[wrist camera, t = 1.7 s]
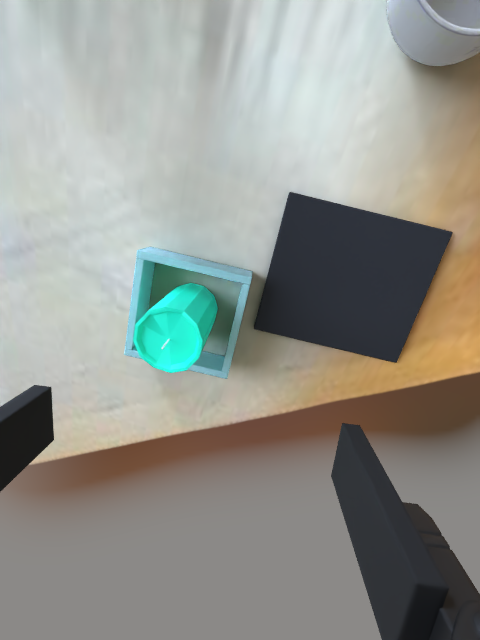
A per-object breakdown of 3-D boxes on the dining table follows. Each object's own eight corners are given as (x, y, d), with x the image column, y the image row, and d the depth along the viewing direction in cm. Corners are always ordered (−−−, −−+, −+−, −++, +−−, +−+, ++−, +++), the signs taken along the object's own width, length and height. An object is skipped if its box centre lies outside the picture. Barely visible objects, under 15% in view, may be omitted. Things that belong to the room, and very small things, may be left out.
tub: (137, 341, 38) (123, 355, 34) (150, 246, 34) (137, 249, 31) (230, 363, 38) (227, 379, 34) (252, 271, 35) (252, 277, 31)
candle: (227, 317, 36) (213, 361, 25) (185, 340, 38) (153, 393, 26) (200, 272, 35) (171, 298, 24) (156, 298, 36) (110, 335, 25)
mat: (253, 326, 37) (253, 329, 36) (289, 192, 32) (289, 191, 31) (393, 360, 37) (396, 363, 36) (448, 231, 32) (453, 232, 31)
